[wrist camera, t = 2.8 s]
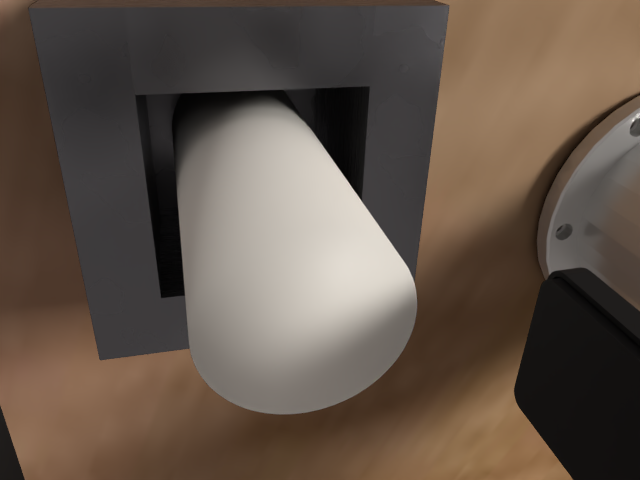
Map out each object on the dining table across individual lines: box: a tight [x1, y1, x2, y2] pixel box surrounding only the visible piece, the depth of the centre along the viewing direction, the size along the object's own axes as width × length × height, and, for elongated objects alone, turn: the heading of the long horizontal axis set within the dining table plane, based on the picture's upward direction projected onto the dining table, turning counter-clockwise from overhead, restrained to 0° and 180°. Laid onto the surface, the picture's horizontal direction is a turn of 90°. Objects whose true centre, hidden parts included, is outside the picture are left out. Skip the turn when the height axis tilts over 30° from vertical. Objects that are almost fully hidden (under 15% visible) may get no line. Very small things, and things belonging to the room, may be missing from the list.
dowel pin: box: [172, 90, 417, 414], centre depth 16 cm, size 4×4×12 cm
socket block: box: [28, 0, 449, 360], centre depth 19 cm, size 10×10×7 cm
